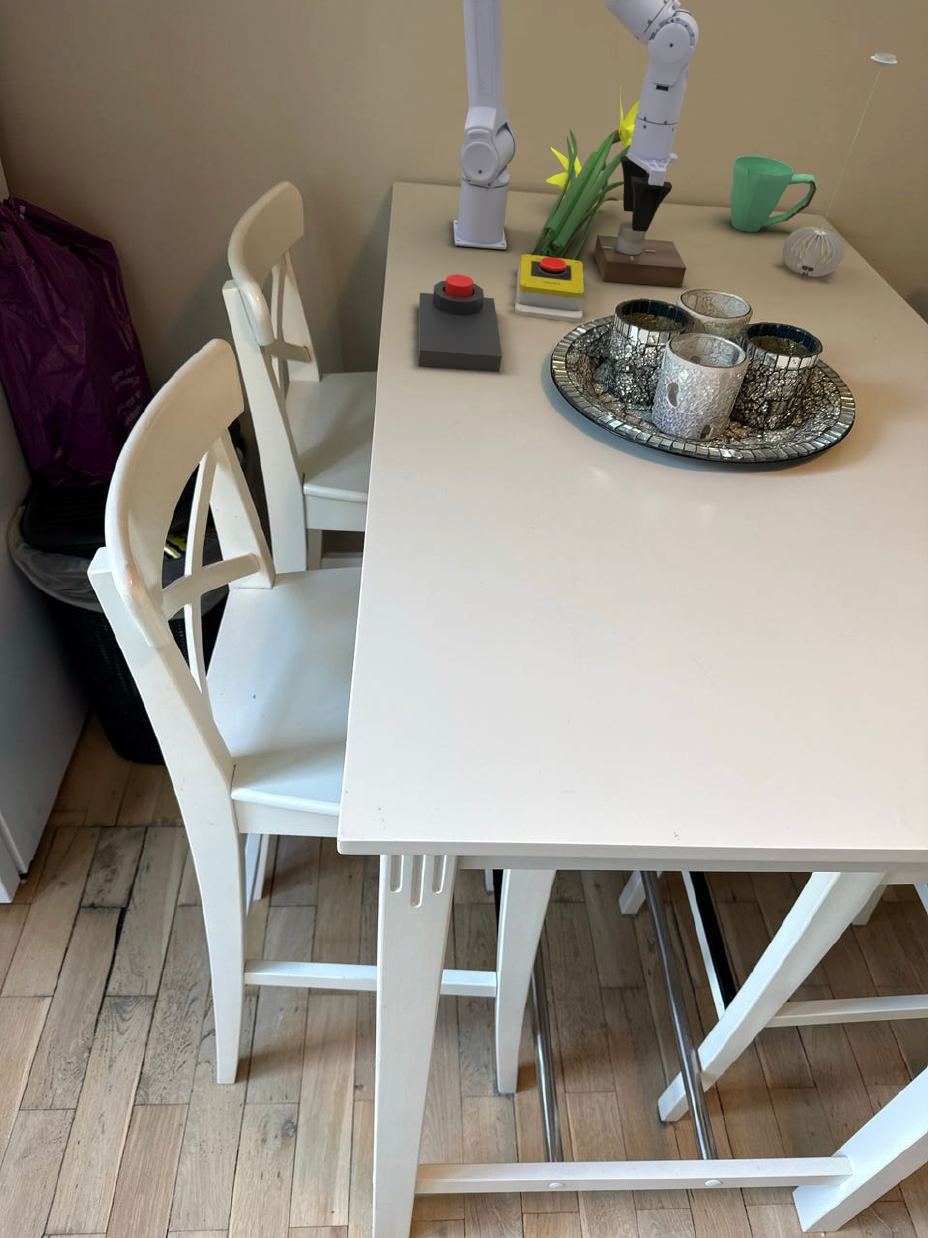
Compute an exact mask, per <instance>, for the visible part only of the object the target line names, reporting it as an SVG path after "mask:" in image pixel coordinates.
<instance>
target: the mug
mask: <svg viewBox="0 0 928 1238" xmlns="http://www.w3.org/2000/svg"><path fill="white" fill-rule="evenodd" d="M732 170H733V171H732V185H731V192H730V218H731V225H732V227H733V228H734V229H737V230H738V231H742V232H746V233H755V232H758V231H760V229H761V228H766V227H769V226H773V225H777V224H782V223H784V222H787V221H789V220H791V219H792V218H793V217H795V216H796V215H798V214H799V213H801V212H802V211H803V210H805V209H807V208H808V207H809V206H810V204H811V202H812V201H813V198H814V197H815V194H816V192H817V191H818V188H819V184H818V182H817V180H816V177H815V176H814V174H807V173H798V174H794V173H795V171H794V168H793V167H792V166H790V165H789V164H788V163H786V162H783V161H781V160H778V159H774V158H770V157H766V156H760V155H759V156H758V155H743V156H738V157H736V158H735V159H734V164H733V169H732ZM796 184H805V185H806V184H807V185H809V190H808V192H807V194H806V196H805V197H804V198H803V199H801V200H800V201H799V202H798V203H796V204H795V205H794V206H793V207H792V208H791V209H789V210H788V211H786V212H785V213H780V214H777V215H774V216H771V215H772V213H773V212H774V210H775V209H776V207H777V206H778V204H779V202H780V200H781V198H782V196H783V194H784V192H785V190H786V189H787V187H788V186H790V185H796Z"/></svg>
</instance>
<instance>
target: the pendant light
mask: <svg viewBox="0 0 928 1238" xmlns="http://www.w3.org/2000/svg"><path fill="white" fill-rule="evenodd" d="M896 59H897V56H896V55H894V54H891V53H887V52H875V54H874V55H872V56H870V60H871V61H872V63H873V64H875V65H876V66H878V67H879V71H878V73H877V76H876V79H875V81H874V84H873V87H872V90H871V92H870V96H869V99H868V101H867V103H866V106H865V108H864V112H863V115H862V116H861V120H860V123H859V125H858V128H857V130H856V134H855V136H854V139H853V142H852V144H851V147H850V150H849V152H848V155H847V159H846V160H845V163H844V166H843V169H842V171H841V173H840V176H839V180H838V182H837V185H836V188H835V190H834V193H833V196H832V199H831V201H830V205H829V207H828V209H827V212H826V214H825V217H824V221H823V223H822V226H821V227H820V228H819V226H805V227H799V228H797V229H795V230H793V231H792V232H791V233H790V234H789V235H788V236H787V238H786V239H785V240H784V243H783V245H782V246H783V247H782V258H783V261H784V264H785V265H786V266H787V267H788V268H789V269H790V270H791V271H793V272H795V273H797V274H799V275H803V274H804V276H808V277H814V278H815V277H816V278H817V277H824V276H827V275H829V274H831V273H833V272H834V271H835V270H836V269H837V268H838V267H839V266H840V265H841V262H843V259H844V256H845V245H844V242H843V239H841V237H840V236H839V235H838V234H836V233H835V232H834V231H831V230H829V229H826V228H823V227H824V225H825V221H826V220H827V217H828V214H829V212H830V208H831V206H832V203H833V200H834V198H835V195H836V192H837V189H838V186H839V185H840V181H841V178H842V176H843V173H844V170H845V167H846V166H847V162H848V160H849V156H850V154H851V151H852V149H853V146H854V144H855V140H856V138H857V135H858V133H859V130H860V128H861V125H862V121H863V119H864V116H865V114H866V110H867V108H868V105H869V103H870V100H871V97H872V94H873V92H874V89H875V87H876V86H875V85H876V84H877V82H878V78H879V75H880V72H881V70H882V69H883V68H888V67H892V66H895V65H896V64H897V63H898V62H899V61H898V60H896ZM824 244H825V247H826V248H825V251H824V253H823V250H824ZM797 247H798V248H797ZM804 247H805V248H804ZM803 248H804V252H803V258H802V259H801V252H802V250H803ZM796 249H797V253H796ZM830 250H831V251H830ZM823 259H824V261H823ZM822 261H823V262H822ZM803 267H807V269H806V270H805V269H803ZM809 268H810V269H812V270H811V271H810V270H809Z"/></svg>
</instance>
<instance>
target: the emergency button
mask: <svg viewBox="0 0 928 1238" xmlns="http://www.w3.org/2000/svg"><path fill="white" fill-rule="evenodd" d="M529 254H530V253H528V254H527V253H524V254H522V255H521V257H520V262H519V267H518V268H517V273H516V275H517V277H516V287H515V289H516V290H515V300H514V301H515V302H514V303H515V304H514V313H515V314H516V315H517V316H521V317H527V318H528V317H529V318H537V319H544V320H545V319H546V320H554V321H562V322H568V323H580V322H582V320H583V301H584V296H585V294H584V293H585V289H584V287H585V286H584V273H583V272H584V271H583V263H582V262H581V260H577V259H575V260H571V259H569V258H568V259H567V258H562V257H561V258H553V257H551V256H548V257H545V256H541V255H538V254H533V255H529Z"/></svg>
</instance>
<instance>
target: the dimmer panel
mask: <svg viewBox="0 0 928 1238" xmlns="http://www.w3.org/2000/svg"><path fill="white" fill-rule="evenodd" d="M595 241H596V242H595V247H594V252H593V256H594V259H595V263H596V265H597V267H598V270H599V273H600V277H601V279H602V281H603V282H607V283H620V284H621V283H622V284H633V285H645V286H646V285H647V286H657V287H673V288H682V286H683V282H684V278H685V275H686V271H687V266H686V264H685V261H684V260H683V258H682V256H681V254H680V253H679V251H678V249H677V247H676V245H675V243H674V241H672V240H660V239H650V238H649V239H647V238H644V243H643V247H642V251H641V253H640V254H637V255H628V254H624V253H621V252H619V251H617V250H616V249H615V246H616V241H617V236H612V235H599V234H598V235H597V236H596V240H595Z"/></svg>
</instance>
